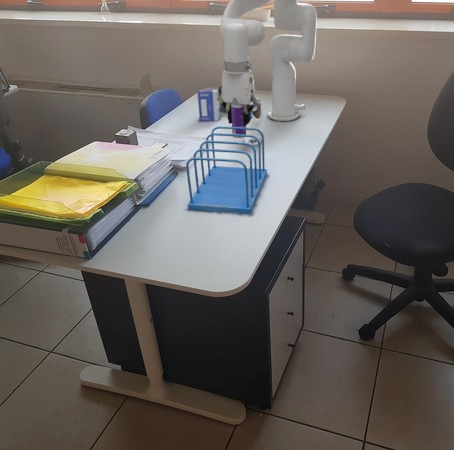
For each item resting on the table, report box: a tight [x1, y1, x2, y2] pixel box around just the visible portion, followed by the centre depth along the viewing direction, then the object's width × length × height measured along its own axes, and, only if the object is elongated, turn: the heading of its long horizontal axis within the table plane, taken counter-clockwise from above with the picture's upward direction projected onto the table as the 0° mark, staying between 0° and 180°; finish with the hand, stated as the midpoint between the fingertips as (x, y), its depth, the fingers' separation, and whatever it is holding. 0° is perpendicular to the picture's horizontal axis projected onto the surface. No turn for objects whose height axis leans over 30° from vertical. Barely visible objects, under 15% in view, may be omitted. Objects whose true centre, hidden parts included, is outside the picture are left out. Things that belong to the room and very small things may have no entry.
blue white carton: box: [197, 89, 220, 122], centre depth 185 cm, size 8×3×12 cm, turn 98°
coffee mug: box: [217, 85, 227, 114], centre depth 199 cm, size 12×9×10 cm
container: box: [231, 97, 246, 139], centre depth 151 cm, size 5×5×15 cm
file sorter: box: [185, 126, 268, 215], centre depth 131 cm, size 25×17×15 cm
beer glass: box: [243, 98, 263, 147], centre depth 163 cm, size 7×7×15 cm
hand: (238, 122), depth 153 cm, fingers closed on container, 4 cm apart
